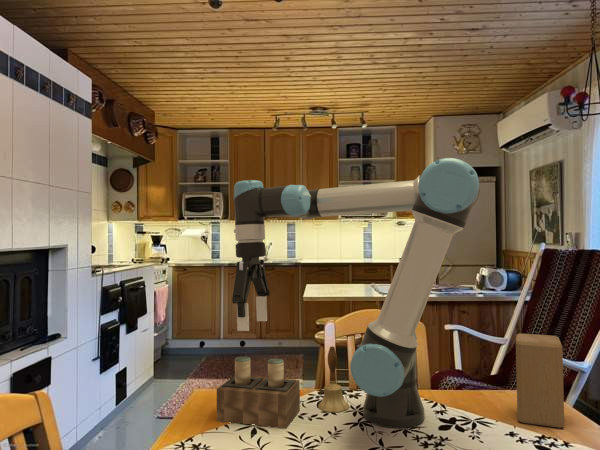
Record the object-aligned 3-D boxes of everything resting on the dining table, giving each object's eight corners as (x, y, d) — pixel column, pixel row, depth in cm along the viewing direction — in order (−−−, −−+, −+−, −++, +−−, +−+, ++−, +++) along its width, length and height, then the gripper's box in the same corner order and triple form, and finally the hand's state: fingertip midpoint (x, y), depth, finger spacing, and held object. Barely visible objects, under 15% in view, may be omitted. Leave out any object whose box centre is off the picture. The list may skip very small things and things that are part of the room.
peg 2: (285, 391, 120) (285, 359, 120) (281, 396, 116) (280, 363, 116) (271, 390, 121) (270, 358, 121) (265, 395, 117) (265, 362, 117)
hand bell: (313, 410, 123) (313, 349, 124) (324, 400, 131) (323, 342, 131) (344, 414, 120) (343, 351, 121) (352, 403, 128) (352, 344, 128)
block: (561, 415, 118) (559, 335, 119) (564, 430, 109) (562, 343, 110) (517, 409, 122) (515, 332, 123) (517, 423, 113) (515, 340, 114)
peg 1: (252, 389, 122) (252, 357, 123) (247, 394, 118) (246, 360, 119) (238, 387, 123) (238, 356, 124) (232, 392, 120) (232, 359, 120)
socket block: (299, 410, 123) (299, 378, 123) (286, 428, 111) (285, 393, 112) (236, 404, 128) (235, 373, 128) (216, 421, 116) (216, 387, 116)
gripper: (253, 241, 133) (255, 317, 132) (215, 242, 109) (218, 335, 108) (278, 240, 131) (281, 317, 130) (246, 241, 107) (249, 335, 106)
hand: (253, 325), depth 119 cm, fingers open, 13 cm apart
